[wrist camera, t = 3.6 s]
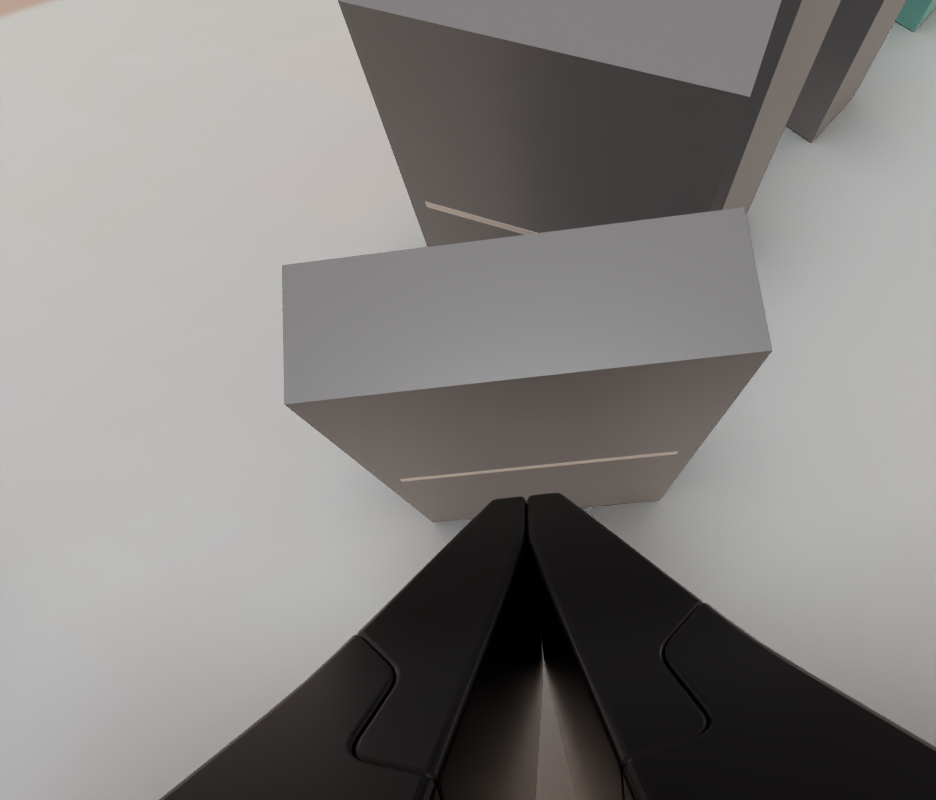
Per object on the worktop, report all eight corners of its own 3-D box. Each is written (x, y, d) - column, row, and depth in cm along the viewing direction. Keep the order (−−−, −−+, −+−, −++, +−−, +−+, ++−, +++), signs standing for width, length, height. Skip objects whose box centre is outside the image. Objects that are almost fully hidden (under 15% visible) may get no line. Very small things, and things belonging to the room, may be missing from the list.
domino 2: (659, 500, 18) (772, 350, 8) (433, 521, 18) (284, 404, 8) (648, 429, 18) (744, 206, 8) (428, 452, 18) (282, 265, 9)
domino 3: (703, 259, 19) (844, -114, 9) (544, 140, 20) (527, -291, 11) (747, 211, 19) (929, -201, 10) (587, 97, 20) (607, -365, 11)
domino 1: (653, 371, 18) (750, 97, 9) (450, 309, 19) (337, 1, 10) (674, 308, 19) (789, -22, 9) (473, 250, 20) (386, -103, 10)
